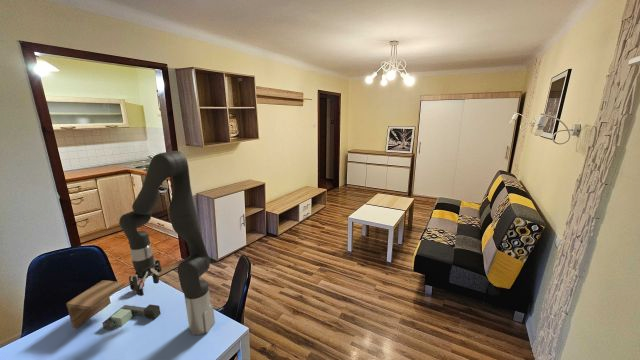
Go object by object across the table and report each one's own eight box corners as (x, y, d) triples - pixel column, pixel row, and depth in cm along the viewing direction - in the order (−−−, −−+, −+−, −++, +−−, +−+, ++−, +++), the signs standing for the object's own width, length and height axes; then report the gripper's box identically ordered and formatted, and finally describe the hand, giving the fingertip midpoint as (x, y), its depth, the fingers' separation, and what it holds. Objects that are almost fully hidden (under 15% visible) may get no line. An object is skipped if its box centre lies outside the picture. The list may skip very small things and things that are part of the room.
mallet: (160, 313, 120) (159, 305, 119) (139, 334, 109) (137, 325, 108) (127, 309, 123) (125, 301, 122) (103, 328, 112) (101, 320, 111)
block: (132, 317, 118) (130, 310, 117) (122, 326, 114) (120, 318, 113) (122, 316, 119) (121, 308, 118) (112, 324, 114) (110, 317, 114)
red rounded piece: (132, 296, 132) (129, 282, 130) (131, 290, 136) (128, 277, 134) (146, 291, 136) (143, 277, 134) (144, 286, 140) (141, 272, 138)
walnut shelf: (129, 305, 126) (124, 282, 123) (96, 332, 110) (90, 306, 107) (108, 302, 128) (102, 280, 125) (73, 328, 112) (66, 303, 109)
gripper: (135, 265, 104) (143, 300, 108) (162, 248, 118) (168, 279, 122) (119, 264, 106) (127, 299, 109) (147, 246, 119) (154, 278, 123)
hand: (149, 288), depth 116 cm, fingers open, 8 cm apart
